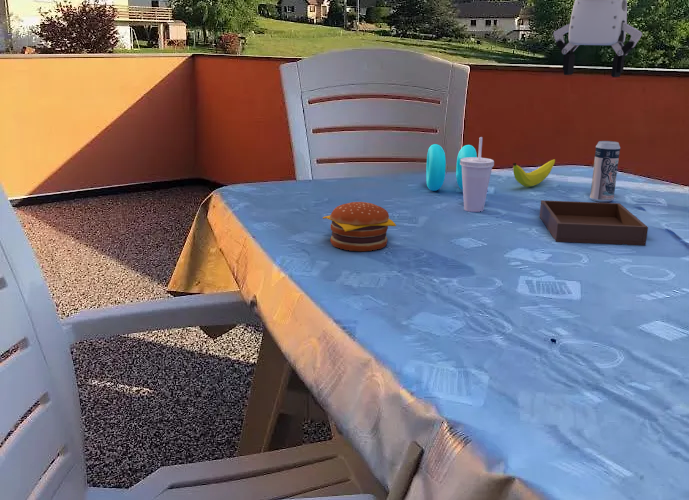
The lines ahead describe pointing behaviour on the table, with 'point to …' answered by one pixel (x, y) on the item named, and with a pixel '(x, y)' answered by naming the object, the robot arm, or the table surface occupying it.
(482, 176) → the smoothie
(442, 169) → the donuts
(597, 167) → the beer can
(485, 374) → the table surface
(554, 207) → the tray
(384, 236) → the hamburger
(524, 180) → the banana
